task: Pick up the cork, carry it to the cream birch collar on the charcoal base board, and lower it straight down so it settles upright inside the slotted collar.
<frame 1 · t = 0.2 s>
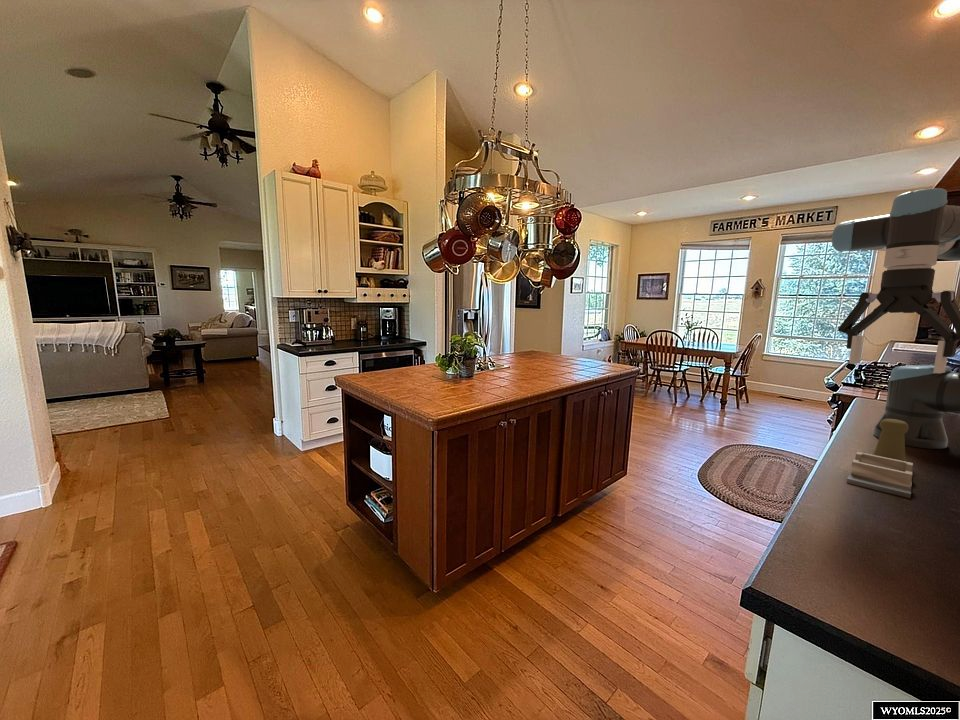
hand: (893, 367, 85), 28 cm above the counter, fingers open, 13 cm apart
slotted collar: (880, 478, 93), on the counter
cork: (888, 460, 104), on the counter
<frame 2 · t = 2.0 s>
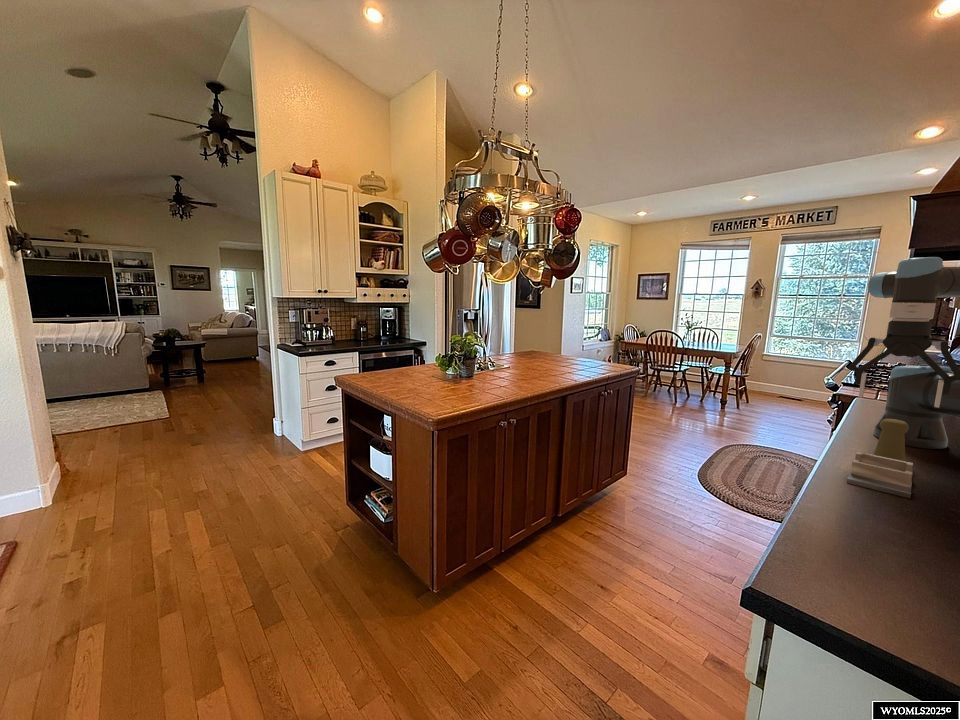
hand: (896, 401, 102), 16 cm above the counter, fingers open, 13 cm apart
nothing on the counter moved.
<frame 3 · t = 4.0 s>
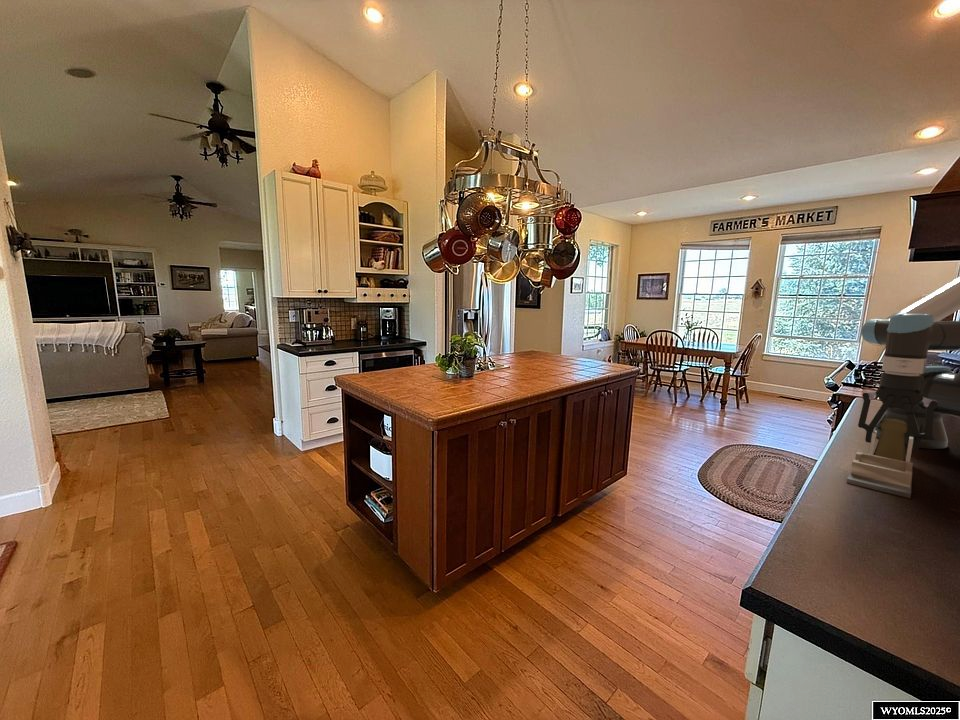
hand: (889, 457, 104), 0 cm above the counter, fingers closed on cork, 6 cm apart
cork: (888, 460, 104), on the counter, touching gripper
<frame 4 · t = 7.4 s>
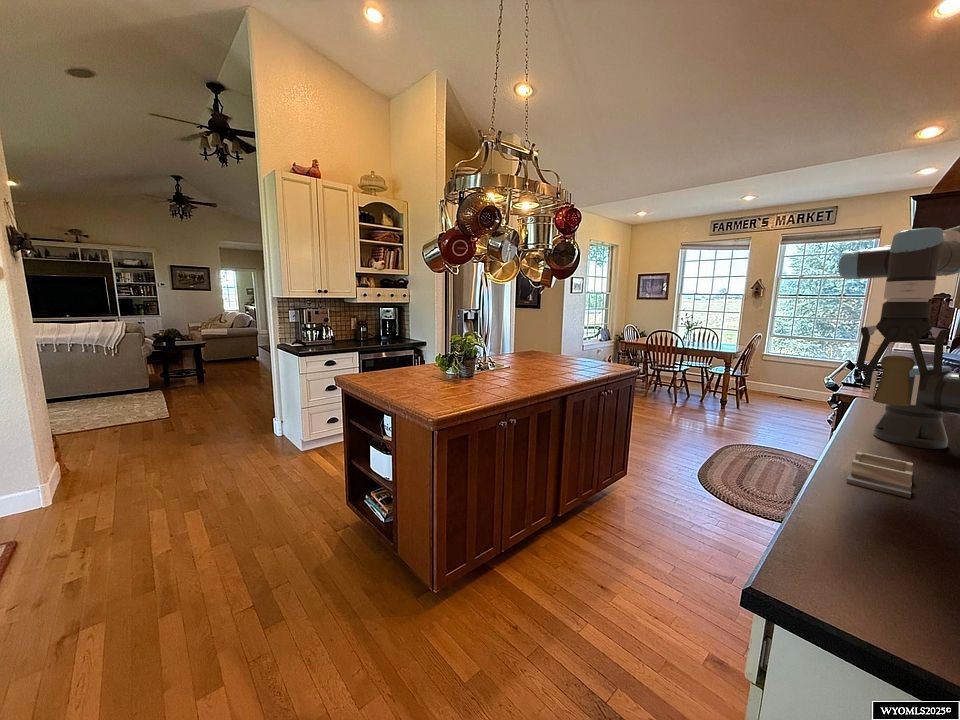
hand: (891, 401, 90), 19 cm above the counter, fingers closed on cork, 6 cm apart
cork: (891, 403, 90), point 18 cm above the counter, touching gripper
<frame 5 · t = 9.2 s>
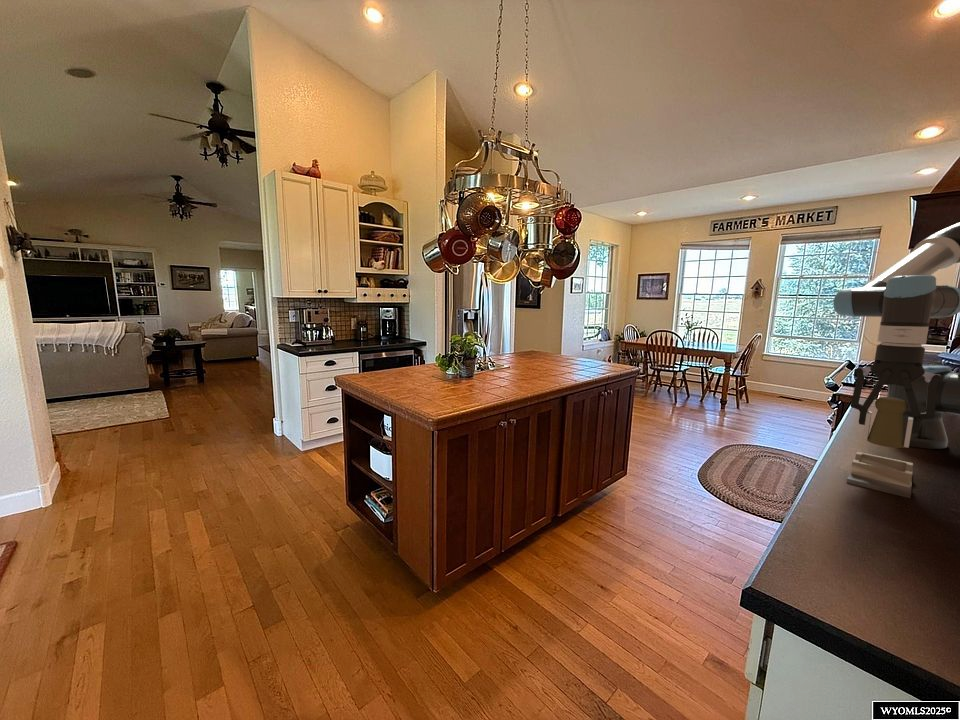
hand: (885, 441, 91), 9 cm above the counter, fingers closed on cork, 6 cm apart
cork: (884, 444, 91), point 9 cm above the counter, touching gripper
when the fingers open (3 cm above the counter, at t = 10.7 s): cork drops 1 cm, resting on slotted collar.
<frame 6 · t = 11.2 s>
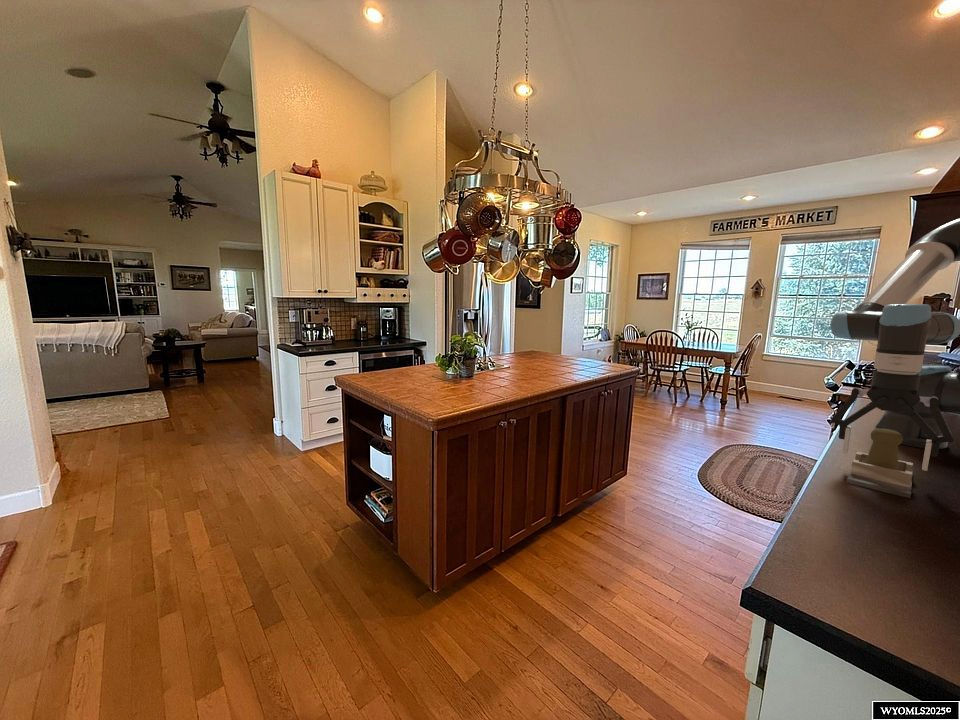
hand: (882, 460, 92), 5 cm above the counter, fingers open, 12 cm apart
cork: (880, 474, 93), point 1 cm above the counter, touching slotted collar
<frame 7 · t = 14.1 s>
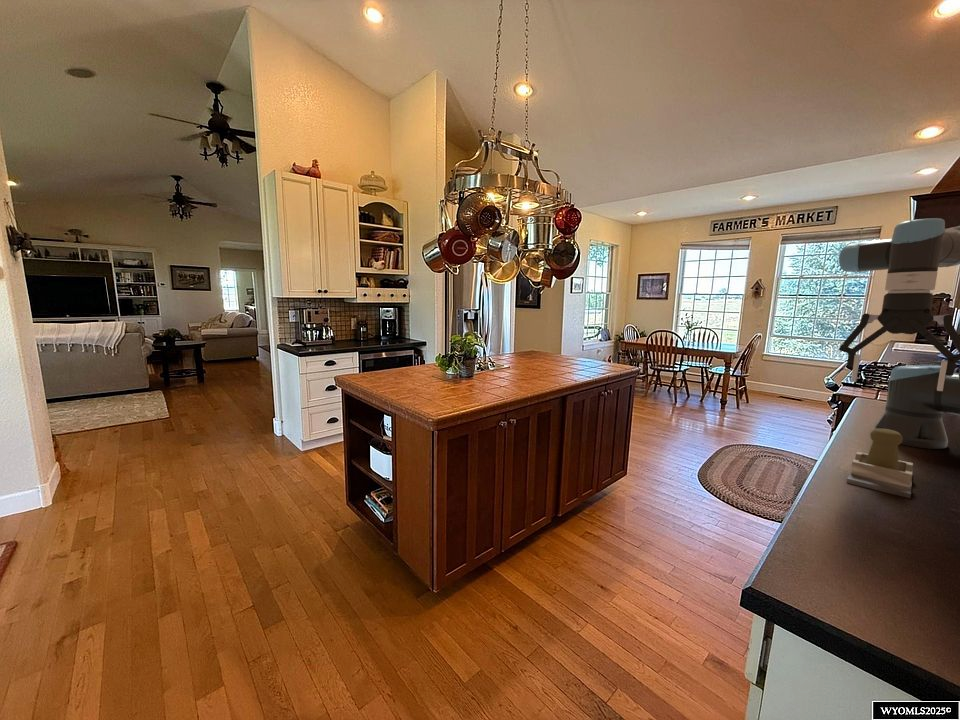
hand: (894, 385, 90), 23 cm above the counter, fingers open, 13 cm apart
nothing on the counter moved.
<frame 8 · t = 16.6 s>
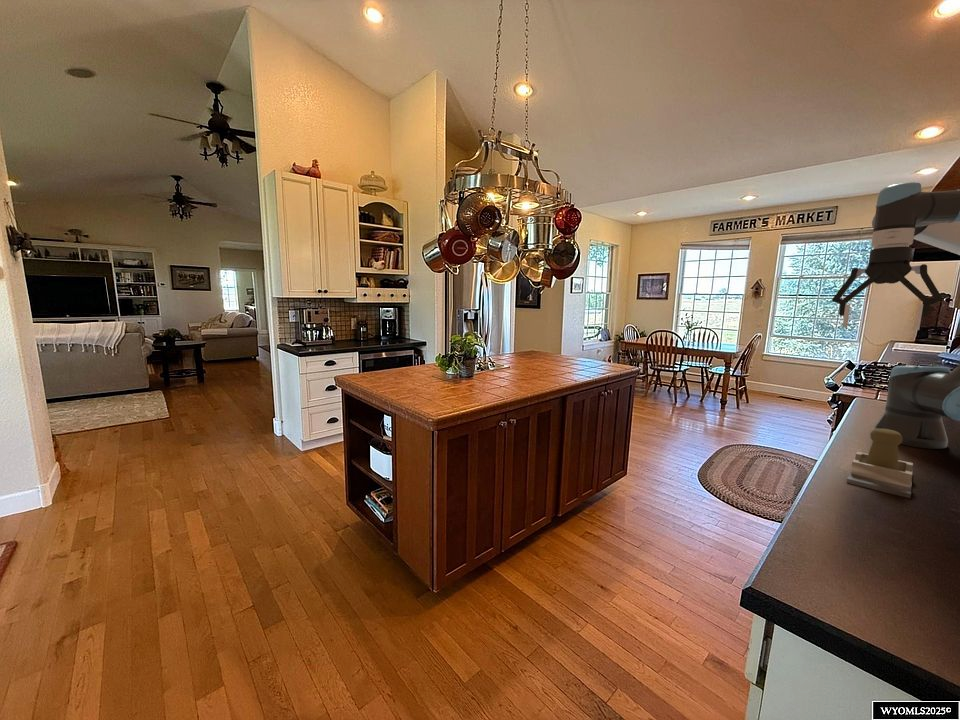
hand: (879, 328, 104), 35 cm above the counter, fingers open, 13 cm apart
nothing on the counter moved.
at the end: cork 0.1 cm off-centre on the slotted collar, point 0.8 cm above the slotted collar's base; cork tilted 0°; the gripper is holding nothing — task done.
